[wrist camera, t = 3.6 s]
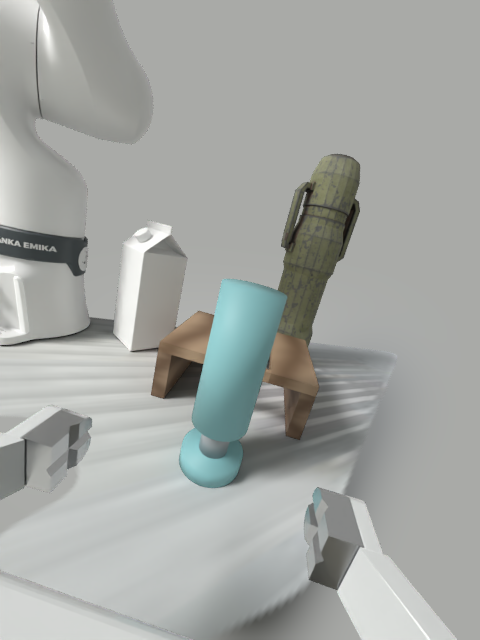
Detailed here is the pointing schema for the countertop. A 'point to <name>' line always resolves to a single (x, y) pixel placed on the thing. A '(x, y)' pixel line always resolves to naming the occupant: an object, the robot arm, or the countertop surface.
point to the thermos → (317, 240)
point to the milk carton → (148, 287)
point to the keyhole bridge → (284, 370)
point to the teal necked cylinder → (230, 380)
